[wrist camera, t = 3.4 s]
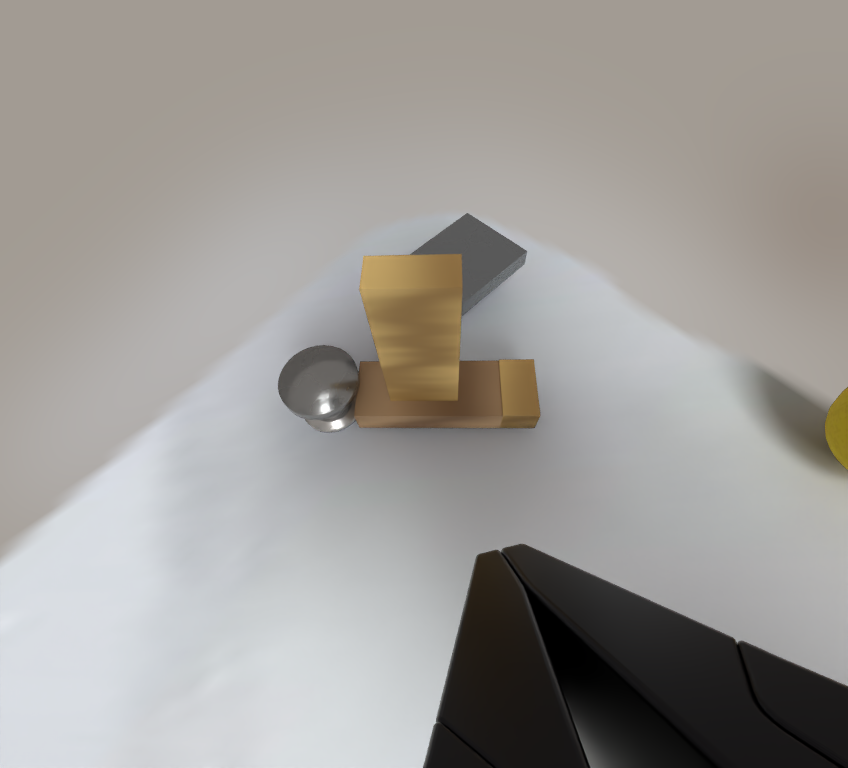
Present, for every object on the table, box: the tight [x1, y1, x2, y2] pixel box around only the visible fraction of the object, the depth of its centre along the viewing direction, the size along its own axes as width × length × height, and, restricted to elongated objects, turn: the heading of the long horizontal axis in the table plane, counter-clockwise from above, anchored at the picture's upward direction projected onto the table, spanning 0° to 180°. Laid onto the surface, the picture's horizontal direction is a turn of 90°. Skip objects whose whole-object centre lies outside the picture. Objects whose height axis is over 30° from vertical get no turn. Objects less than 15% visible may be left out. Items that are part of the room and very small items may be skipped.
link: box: [354, 254, 540, 428], centre depth 18 cm, size 9×3×10 cm, turn 89°
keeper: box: [410, 213, 527, 315], centre depth 25 cm, size 5×5×4 cm
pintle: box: [278, 345, 360, 433], centre depth 22 cm, size 4×4×3 cm
